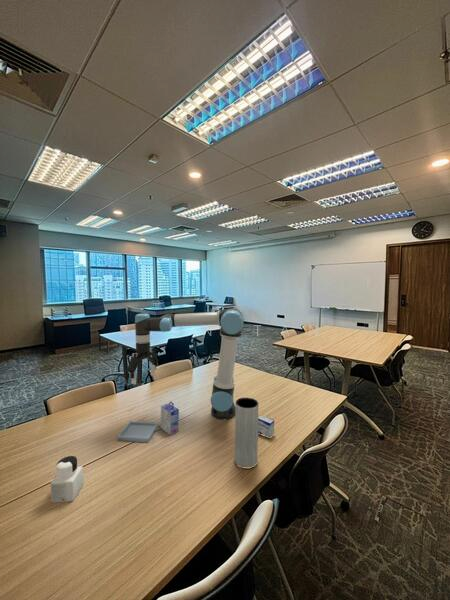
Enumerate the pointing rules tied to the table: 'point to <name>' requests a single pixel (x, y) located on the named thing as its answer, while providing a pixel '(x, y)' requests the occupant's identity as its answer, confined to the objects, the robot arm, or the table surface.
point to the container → (66, 480)
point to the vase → (246, 432)
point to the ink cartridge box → (170, 418)
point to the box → (265, 426)
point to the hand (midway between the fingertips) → (143, 379)
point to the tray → (138, 431)
